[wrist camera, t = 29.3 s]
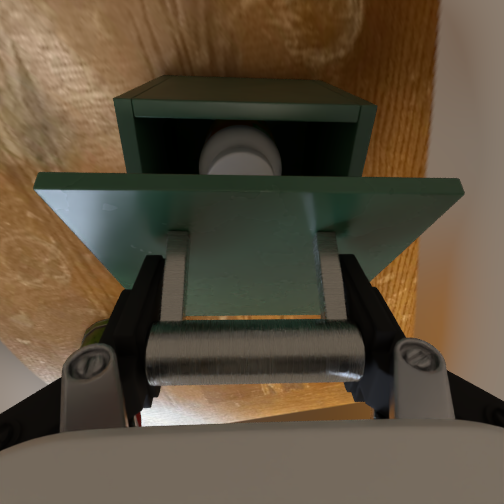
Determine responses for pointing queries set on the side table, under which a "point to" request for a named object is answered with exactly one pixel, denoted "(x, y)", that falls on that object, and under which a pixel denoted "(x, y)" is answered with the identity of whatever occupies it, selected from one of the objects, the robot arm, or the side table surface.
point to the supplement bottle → (240, 149)
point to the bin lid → (248, 262)
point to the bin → (244, 108)
